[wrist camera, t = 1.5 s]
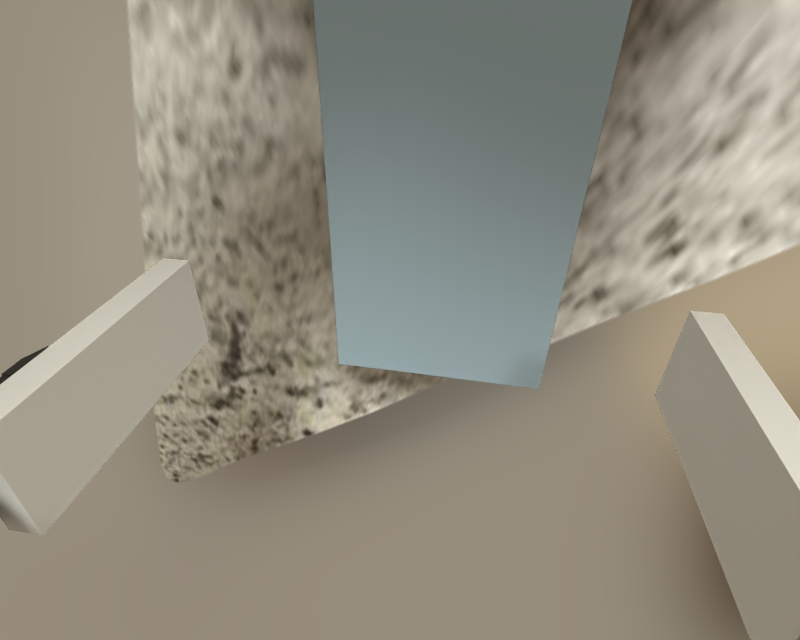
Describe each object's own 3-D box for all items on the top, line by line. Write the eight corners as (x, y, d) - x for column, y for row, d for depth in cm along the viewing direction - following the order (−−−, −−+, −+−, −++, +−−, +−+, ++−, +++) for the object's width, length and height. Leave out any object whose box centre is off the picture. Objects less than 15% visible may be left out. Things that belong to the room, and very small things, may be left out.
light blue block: (357, -46, 20) (309, -58, 15) (607, -43, 19) (646, -56, 14) (366, 300, 30) (338, 363, 25) (532, 318, 28) (538, 388, 23)
